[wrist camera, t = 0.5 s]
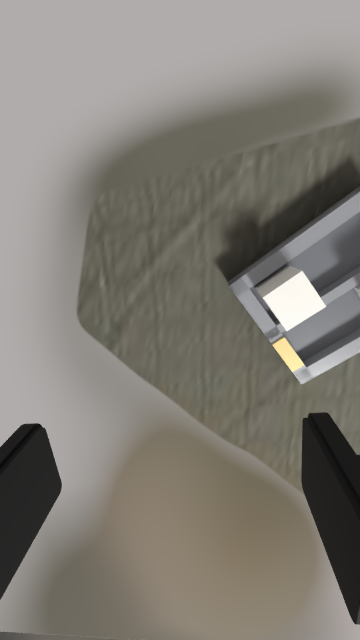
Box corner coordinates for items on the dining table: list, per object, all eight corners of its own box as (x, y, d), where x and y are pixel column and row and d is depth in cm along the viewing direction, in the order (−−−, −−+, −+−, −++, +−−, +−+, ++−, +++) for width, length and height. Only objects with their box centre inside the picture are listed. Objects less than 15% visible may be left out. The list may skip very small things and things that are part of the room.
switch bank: (428, 295, 30) (450, 302, 27) (294, 373, 34) (302, 385, 31) (362, 183, 27) (379, 178, 25) (227, 281, 32) (229, 286, 29)
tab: (307, 294, 30) (326, 306, 25) (275, 316, 31) (286, 331, 26) (287, 264, 29) (302, 270, 24) (254, 287, 30) (262, 297, 25)
